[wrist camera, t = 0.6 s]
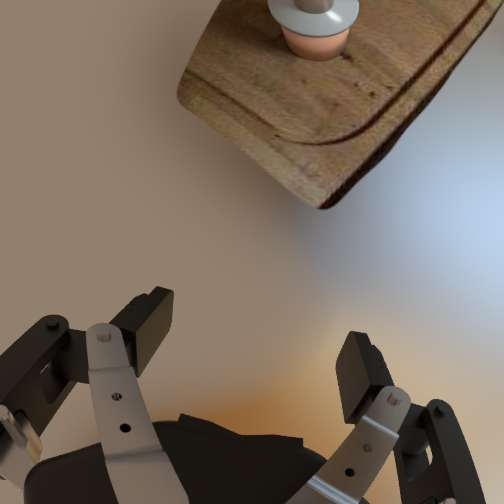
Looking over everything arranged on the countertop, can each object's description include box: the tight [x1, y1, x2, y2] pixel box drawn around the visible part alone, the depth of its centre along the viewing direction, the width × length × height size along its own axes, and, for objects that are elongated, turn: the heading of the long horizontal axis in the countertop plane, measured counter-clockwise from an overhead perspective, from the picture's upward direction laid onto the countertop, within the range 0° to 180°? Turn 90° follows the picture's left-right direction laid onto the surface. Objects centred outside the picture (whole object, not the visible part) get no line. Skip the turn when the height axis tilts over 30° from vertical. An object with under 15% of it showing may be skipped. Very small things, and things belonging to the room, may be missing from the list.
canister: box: [281, 26, 349, 61], centre depth 23 cm, size 8×8×9 cm
